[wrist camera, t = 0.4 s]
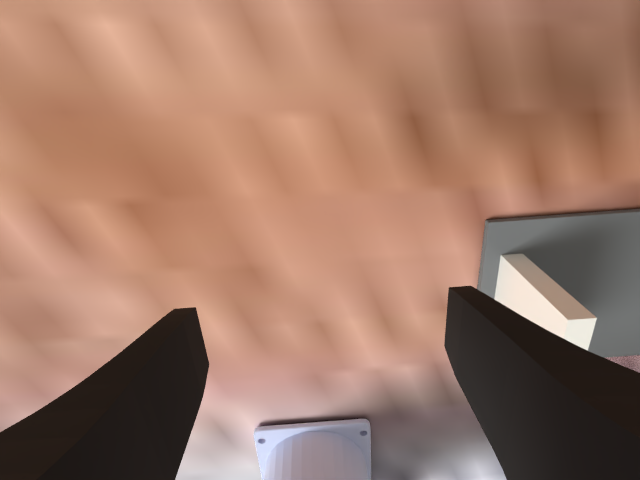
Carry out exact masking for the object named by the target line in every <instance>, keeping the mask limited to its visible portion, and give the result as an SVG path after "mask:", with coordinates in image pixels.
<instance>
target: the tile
mask: <svg viewBox="0 0 640 480" xmlns="http://www.w3.org/2000/svg"><path fill="white" fill-rule="evenodd" d="M494 299H495V300H496V301H498V302H500V303H501V304H503V305H505V306H506V307H508V308H510V309H511V310H513V311H515V312H516V313H518V314H520V315H521V316H523V317H525V318H527V319H528V320H530V321H532V322H534V323H535V324H537V325H539V326H541V327H543V328H544V329H546V330H548V331H550V332H552V333H554V334H556V335H558V336H559V337H561V338H563V339H565V340H567V341H569V342H571V343H573V344H575V345H577V346H579V347H581V348H583V349H585V350H587V351H588V348H589V345H590V341H591V337H592V334H593V330H594V327H595V323H596V320H597V318H596V317H595V316H594V315H593V314H592V313H591V312H590V311H588V310H587V309H586V308H585V307H584V306H583V305H581V304H580V303H579V302H578V301H577V300H576V299H574V298H573V297H572V296H571V295H570V294H569V293H568V292H566V291H565V290H564V289H563V288H562V287H561V286H559V285H558V284H557V283H556V282H555V281H554V280H552V279H551V278H550V277H549V276H548V275H547V274H546V273H544V272H543V271H542V270H541V269H540V268H539V267H537V266H536V265H535V264H534V263H533V262H532V261H530V260H529V259H528V258H527V257H526V256H525V255H524V254H508V255H501V257H500V264H499V271H498V278H497V285H496V291H495V298H494Z"/></svg>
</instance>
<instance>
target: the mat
mask: <svg viewBox="0 0 640 480" xmlns="http://www.w3.org/2000/svg"><path fill="white" fill-rule="evenodd" d="M508 254H524V255H525V256H526V257H527V258H528V259H529V260H530V261H532V262H533V263H534V264H535V265H536V266H537V267H539V268H540V269H541V270H542V271H543V272H544V273H546V274H547V275H548V276H549V277H550V278H551V279H552V280H554V281H555V282H556V283H557V284H558V285H559V286H561V287H562V288H563V289H564V290H565V291H566V292H568V293H569V294H570V295H571V296H572V297H573V298H574V299H576V300H577V301H578V302H579V303H580V304H581V305H583V306H584V307H585V308H586V309H587V310H588V311H590V312H591V313H592V314H593V315H594V316H595V317H596V318H597V320H596V323H595V327H594V330H593V334H592V337H591V341H590V345H589V348H588V351H590V352H592V353H594V354H596V355H599V356H601V357H603V358H605V357H618V356H632V355H640V209H629V210H616V211H602V212H588V213H575V214H561V215H547V216H534V217H520V218H506V219H493V220H486V221H485V229H484V237H483V246H482V254H481V262H480V270H479V279H478V287H477V290H479V291H481V292H483V293H485V294H486V295H488V296H490V297H491V298H493V299H494V298H495V291H496V285H497V278H498V271H499V264H500V257H501V255H508Z"/></svg>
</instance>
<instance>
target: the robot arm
mask: <svg viewBox="0 0 640 480" xmlns="http://www.w3.org/2000/svg"><path fill="white" fill-rule="evenodd" d="M444 346H445V349H446V352H447V354H448V357H449V360H450V363H451V366H452V368H453V371H454V374H455V376H456V379H457V381H458V383H459V385H460V387H461V388H462V390H463V392H464V394H465V396H466V398H467V400H468V402H469V404H470V406H471V408H472V410H473V412H474V414H475V415H476V417H477V419H478V421H479V423H480V425H481V427H482V429H483V431H484V433H485V435H486V436H487V438H488V440H489V442H490V444H491V446H492V448H493V450H494V452H495V454H496V456H497V458H498V460H499V462H500V464H501V467H502V469H503V471H504V474H505V476H506V478H507V480H640V373H639V372H636V371H634V370H631V369H629V368H626V367H624V366H621V365H619V364H617V363H614V362H612V361H610V360H608V359H605V358H603V357H601V356H599V355H596V354H594V353H592V352H590V351H587V350H585V349H583V348H581V347H579V346H577V345H575V344H573V343H571V342H569V341H567V340H565V339H563V338H561V337H559V336H558V335H556V334H554V333H552V332H550V331H548V330H546V329H544V328H543V327H541V326H539V325H537V324H535V323H534V322H532V321H530V320H528V319H527V318H525V317H523V316H521V315H520V314H518V313H516V312H515V311H513V310H511V309H510V308H508V307H506V306H505V305H503V304H501V303H500V302H498V301H496V300H495V299H493V298H491V297H490V296H488V295H486V294H485V293H483V292H481V291H479V290H477V289H476V288H474V287H472V286H462V287H450V288H449V293H448V306H447V319H446V332H445V345H444ZM208 368H209V361H208V357H207V353H206V349H205V344H204V340H203V336H202V332H201V328H200V323H199V319H198V315H197V311H196V307H194V308H181V309H174V310H172V311H171V312H169V313H168V314H167V315H166V316H164V317H163V318H162V319H161V320H159V321H158V322H157V323H156V324H154V325H153V326H152V327H151V328H150V329H148V330H147V331H146V332H145V333H144V334H142V335H141V336H140V337H139V338H138V339H136V340H135V341H134V342H133V343H131V344H130V345H129V346H128V347H127V348H125V349H124V350H123V351H122V352H120V353H119V354H118V355H117V356H115V357H114V358H113V359H111V360H110V361H109V362H107V363H106V364H105V365H103V366H102V367H101V368H99V369H98V370H97V371H95V372H94V373H93V374H91V375H90V376H89V377H88V378H86V379H85V380H83V381H82V382H81V383H79V384H78V385H76V386H75V387H73V388H72V389H70V390H69V391H68V392H66V393H65V394H63V395H62V396H60V397H58V398H57V399H55V400H54V401H52V402H51V403H49V404H48V405H46V406H45V407H43V408H41V409H40V410H38V411H36V412H35V413H33V414H32V415H30V416H28V417H26V418H25V419H23V420H21V421H19V422H18V423H16V424H14V425H12V426H11V427H9V428H7V429H5V430H4V431H2V432H0V480H175V478H176V475H177V472H178V469H179V466H180V463H181V460H182V457H183V454H184V451H185V449H186V446H187V443H188V440H189V437H190V434H191V431H192V428H193V425H194V422H195V419H196V416H197V413H198V410H199V407H200V404H201V401H202V398H203V393H204V389H205V384H206V379H207V373H208ZM261 438H262V439H261ZM254 440H255V446H256V451H257V456H258V461H259V466H260V471H261V476H262V480H371V430H370V422H369V421H368V420H367V419H351V420H338V421H325V422H312V423H299V424H286V425H272V426H260V427H257V428H256V429H255V430H254Z"/></svg>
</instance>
